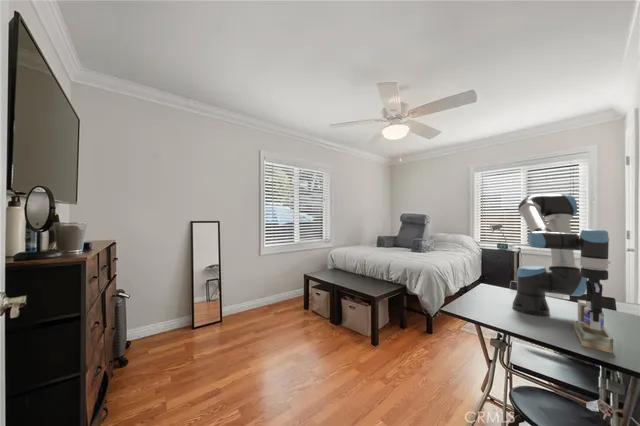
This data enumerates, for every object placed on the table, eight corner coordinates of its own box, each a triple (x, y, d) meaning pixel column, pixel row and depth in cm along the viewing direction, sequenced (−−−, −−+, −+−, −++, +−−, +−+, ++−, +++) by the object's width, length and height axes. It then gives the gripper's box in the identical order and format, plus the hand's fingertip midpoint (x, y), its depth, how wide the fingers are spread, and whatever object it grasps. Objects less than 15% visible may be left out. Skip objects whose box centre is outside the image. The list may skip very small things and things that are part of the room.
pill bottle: (579, 324, 103) (580, 300, 103) (591, 324, 104) (592, 300, 104) (595, 330, 98) (595, 305, 98) (608, 330, 98) (608, 305, 98)
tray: (581, 345, 98) (582, 332, 98) (572, 324, 117) (572, 313, 117) (613, 353, 93) (613, 339, 93) (598, 329, 112) (598, 318, 112)
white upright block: (579, 325, 112) (579, 302, 112) (577, 321, 116) (577, 299, 116) (596, 328, 108) (596, 305, 109) (593, 324, 113) (593, 302, 113)
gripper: (614, 273, 92) (614, 338, 91) (602, 266, 106) (602, 322, 106) (584, 270, 96) (584, 331, 96) (577, 263, 111) (576, 317, 110)
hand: (593, 326), depth 101 cm, fingers closed on pill bottle, 5 cm apart
